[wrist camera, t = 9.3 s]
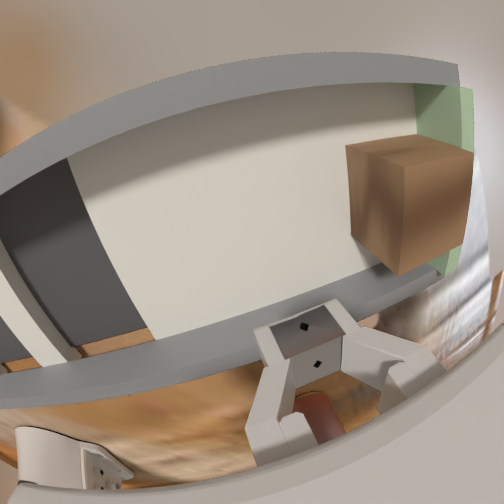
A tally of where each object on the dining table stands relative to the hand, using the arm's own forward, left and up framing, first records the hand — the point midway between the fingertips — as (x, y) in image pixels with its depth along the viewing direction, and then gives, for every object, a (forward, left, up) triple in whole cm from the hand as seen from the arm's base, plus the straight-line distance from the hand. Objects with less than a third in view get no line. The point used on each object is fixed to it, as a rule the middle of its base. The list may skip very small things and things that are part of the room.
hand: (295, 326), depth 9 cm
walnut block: (+1, -10, -8) cm, 12 cm away
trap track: (+1, +7, -10) cm, 12 cm away
